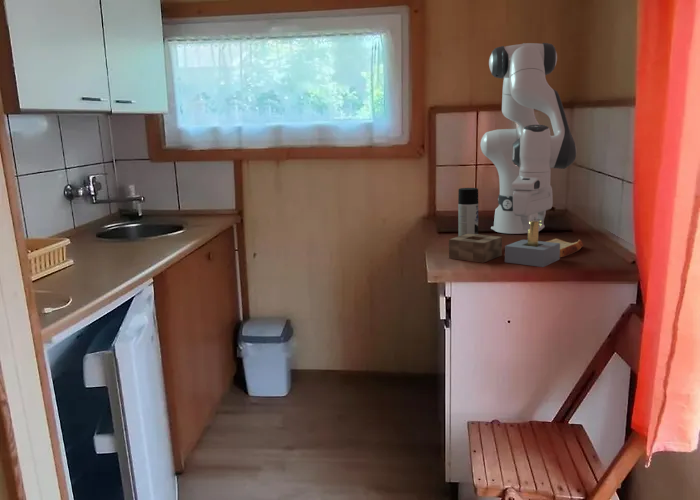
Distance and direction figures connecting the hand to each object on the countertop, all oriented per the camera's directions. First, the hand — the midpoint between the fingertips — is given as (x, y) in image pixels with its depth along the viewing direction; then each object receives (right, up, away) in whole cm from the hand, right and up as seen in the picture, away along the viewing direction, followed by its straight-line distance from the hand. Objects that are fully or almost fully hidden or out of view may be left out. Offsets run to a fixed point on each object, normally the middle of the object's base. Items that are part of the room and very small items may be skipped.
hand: (533, 227), depth 173 cm
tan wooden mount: (-15, -9, +10) cm, 20 cm away
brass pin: (0, -10, +2) cm, 10 cm away
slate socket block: (0, -10, +2) cm, 10 cm away
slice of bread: (+13, -8, +14) cm, 21 cm away
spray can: (-14, -6, +26) cm, 30 cm away
